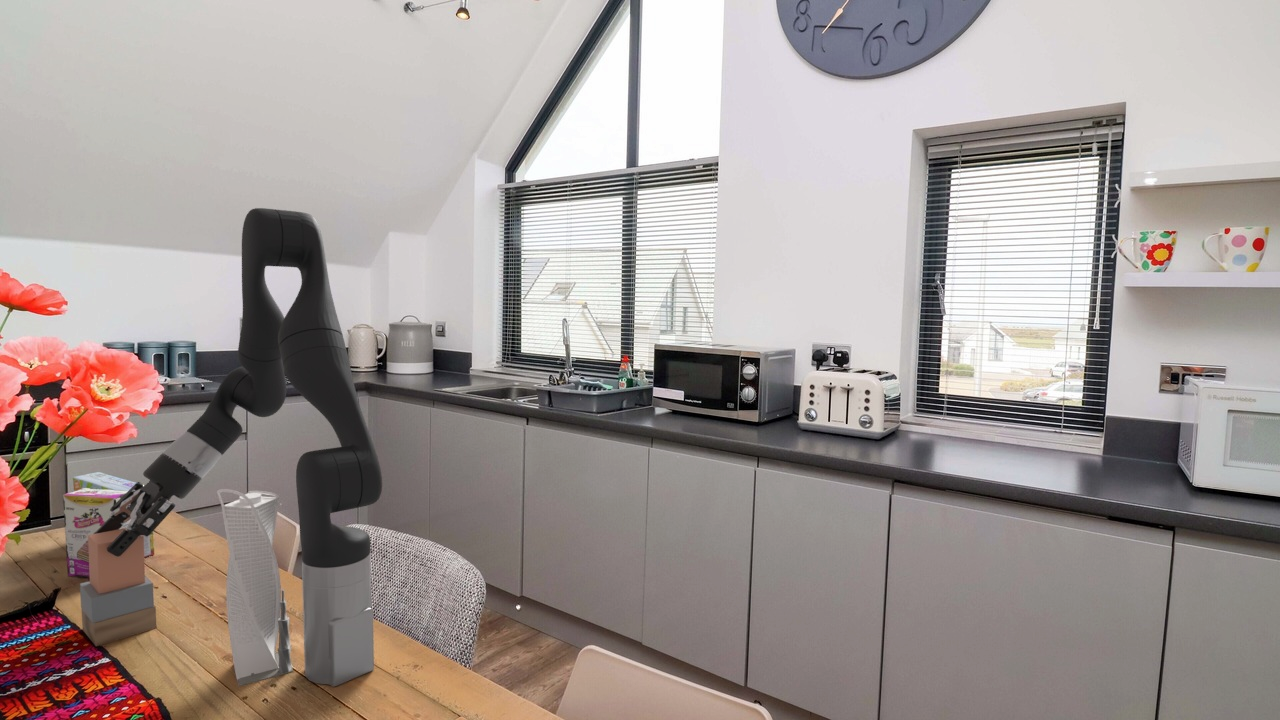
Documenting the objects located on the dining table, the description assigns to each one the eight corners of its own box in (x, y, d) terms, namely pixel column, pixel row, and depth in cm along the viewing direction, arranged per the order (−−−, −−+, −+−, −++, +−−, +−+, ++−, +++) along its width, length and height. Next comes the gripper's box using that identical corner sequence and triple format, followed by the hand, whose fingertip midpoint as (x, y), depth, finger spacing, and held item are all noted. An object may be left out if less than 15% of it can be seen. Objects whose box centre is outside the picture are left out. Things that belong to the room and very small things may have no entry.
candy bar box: (65, 577, 131) (60, 494, 130) (88, 567, 136) (84, 487, 134) (119, 581, 130) (114, 497, 128) (140, 571, 135) (136, 489, 133)
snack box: (74, 544, 148) (70, 476, 147) (104, 536, 153) (101, 470, 152) (126, 564, 138) (123, 491, 137) (157, 555, 143) (153, 484, 142)
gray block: (153, 606, 112) (152, 583, 112) (92, 623, 106) (91, 598, 106) (140, 592, 117) (139, 569, 117) (81, 607, 111) (79, 583, 111)
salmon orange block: (144, 582, 112) (143, 535, 111) (99, 594, 107) (97, 544, 107) (134, 572, 116) (132, 526, 115) (89, 583, 111) (88, 535, 110)
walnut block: (156, 629, 113) (155, 606, 112) (96, 648, 106) (94, 623, 106) (141, 614, 118) (140, 592, 117) (82, 631, 111) (81, 608, 111)
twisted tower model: (226, 691, 96) (219, 496, 93) (221, 666, 102) (214, 483, 100) (293, 673, 101) (288, 487, 98) (284, 649, 107) (279, 475, 105)
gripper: (151, 445, 120) (72, 524, 112) (179, 459, 111) (94, 546, 103) (187, 469, 124) (113, 547, 117) (217, 484, 115) (138, 570, 108)
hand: (104, 546), depth 110 cm, fingers open, 8 cm apart
